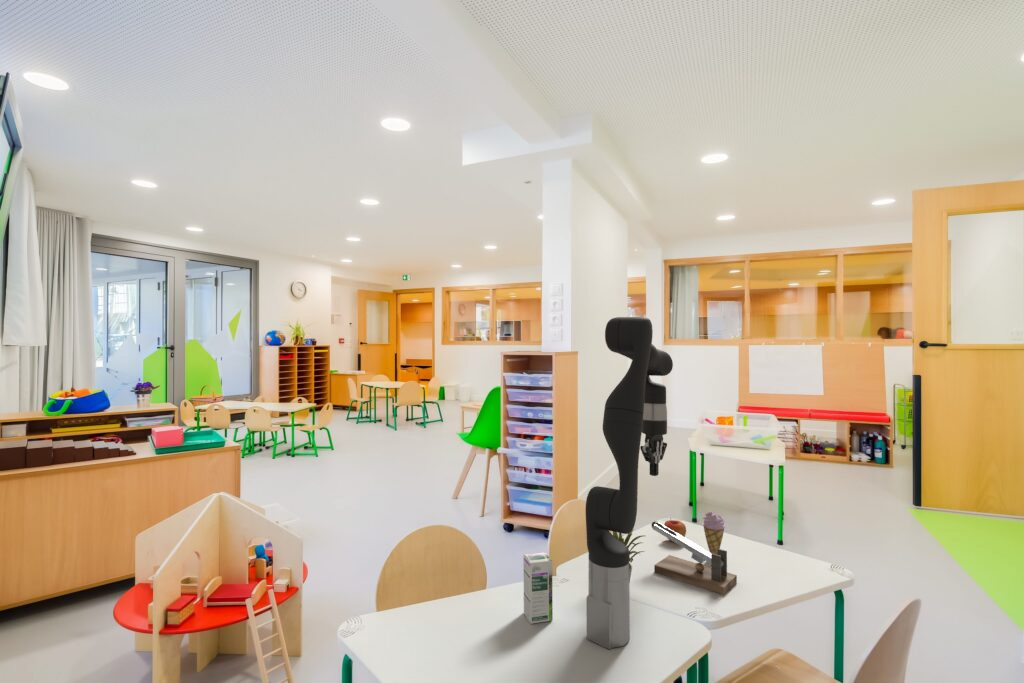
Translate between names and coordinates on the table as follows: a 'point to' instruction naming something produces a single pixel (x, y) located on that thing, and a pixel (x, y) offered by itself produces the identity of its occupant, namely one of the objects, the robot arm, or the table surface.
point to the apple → (676, 527)
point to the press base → (699, 572)
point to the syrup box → (538, 587)
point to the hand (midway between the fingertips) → (654, 475)
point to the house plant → (628, 547)
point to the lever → (685, 543)
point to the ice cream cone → (713, 531)
